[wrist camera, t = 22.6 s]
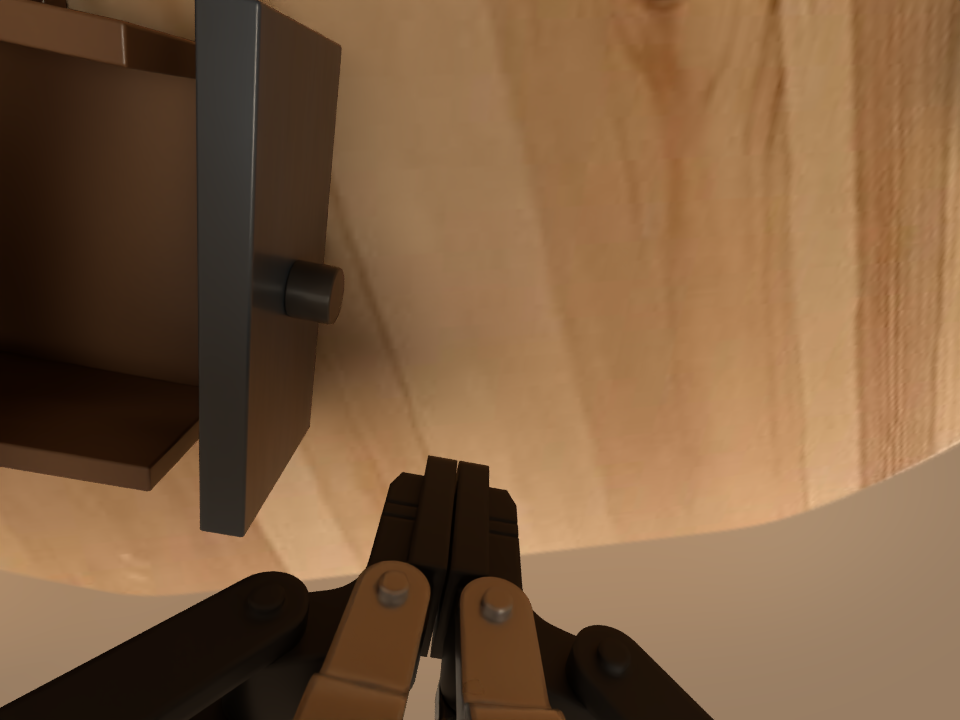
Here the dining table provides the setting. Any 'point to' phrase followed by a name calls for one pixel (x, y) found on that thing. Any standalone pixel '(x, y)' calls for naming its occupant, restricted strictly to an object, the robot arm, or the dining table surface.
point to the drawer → (163, 246)
